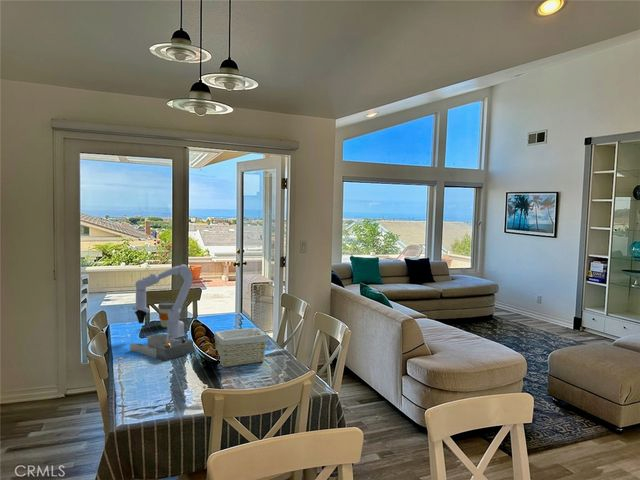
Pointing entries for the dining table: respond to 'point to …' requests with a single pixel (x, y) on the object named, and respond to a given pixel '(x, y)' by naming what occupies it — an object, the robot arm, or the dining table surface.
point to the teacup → (158, 340)
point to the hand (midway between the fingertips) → (141, 323)
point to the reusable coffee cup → (165, 311)
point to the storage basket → (240, 346)
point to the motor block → (165, 349)
